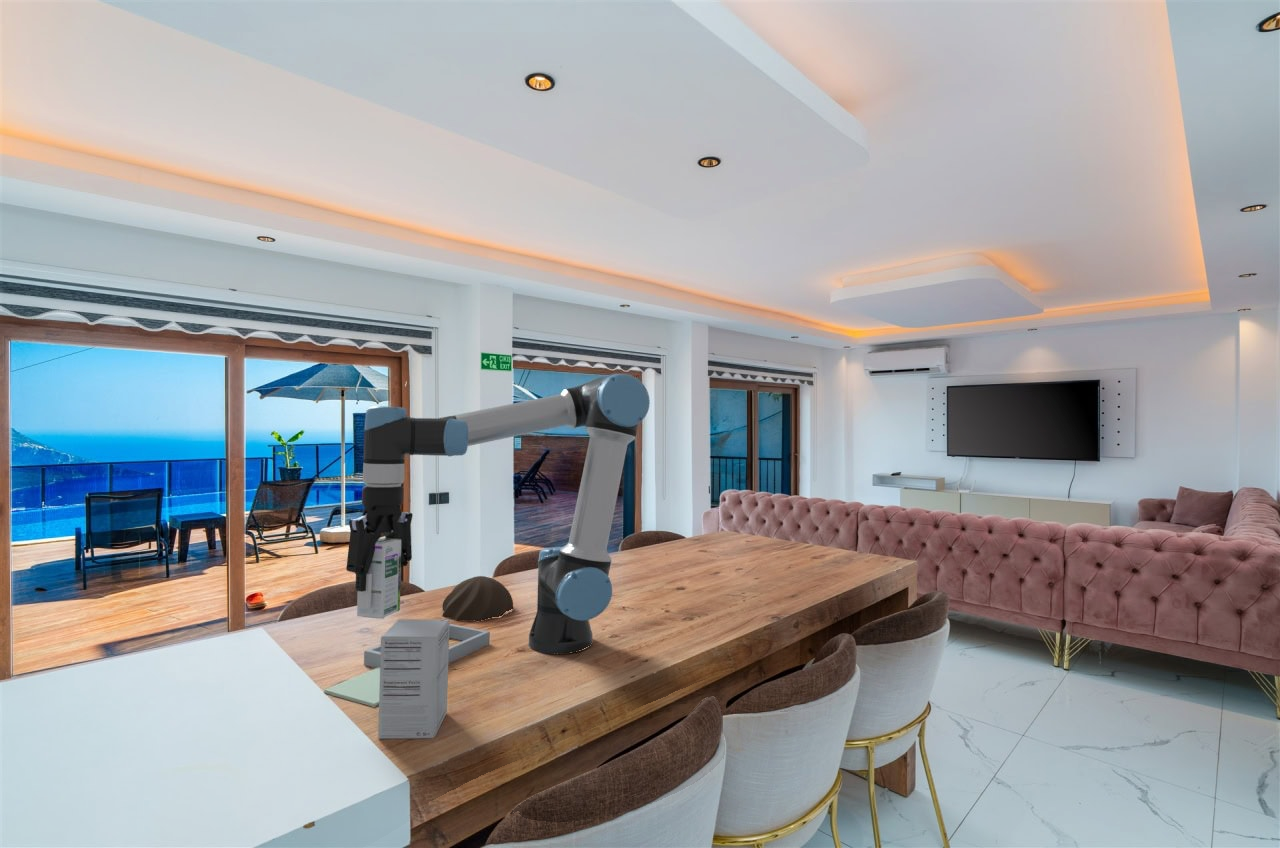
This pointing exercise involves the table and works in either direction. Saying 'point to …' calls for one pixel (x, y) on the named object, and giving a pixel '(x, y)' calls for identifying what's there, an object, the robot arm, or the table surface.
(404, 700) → the supplement box
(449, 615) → the decorative dome
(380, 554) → the syrup box
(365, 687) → the mat
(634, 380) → the robot arm
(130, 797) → the table surface
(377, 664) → the gray rectangular frame
